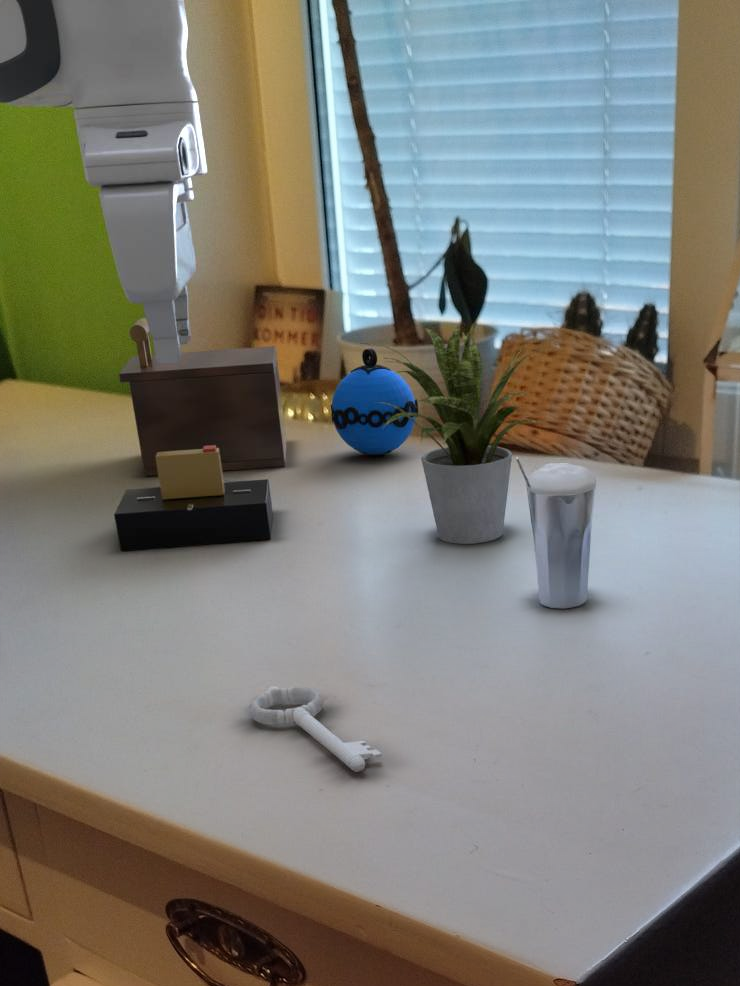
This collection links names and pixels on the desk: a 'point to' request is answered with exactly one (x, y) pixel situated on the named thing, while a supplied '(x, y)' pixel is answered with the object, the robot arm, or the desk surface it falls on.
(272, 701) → the key
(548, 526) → the milkshake
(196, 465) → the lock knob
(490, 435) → the house plant
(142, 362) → the lid
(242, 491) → the panel
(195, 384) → the box
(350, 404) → the ornament
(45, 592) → the desk surface
